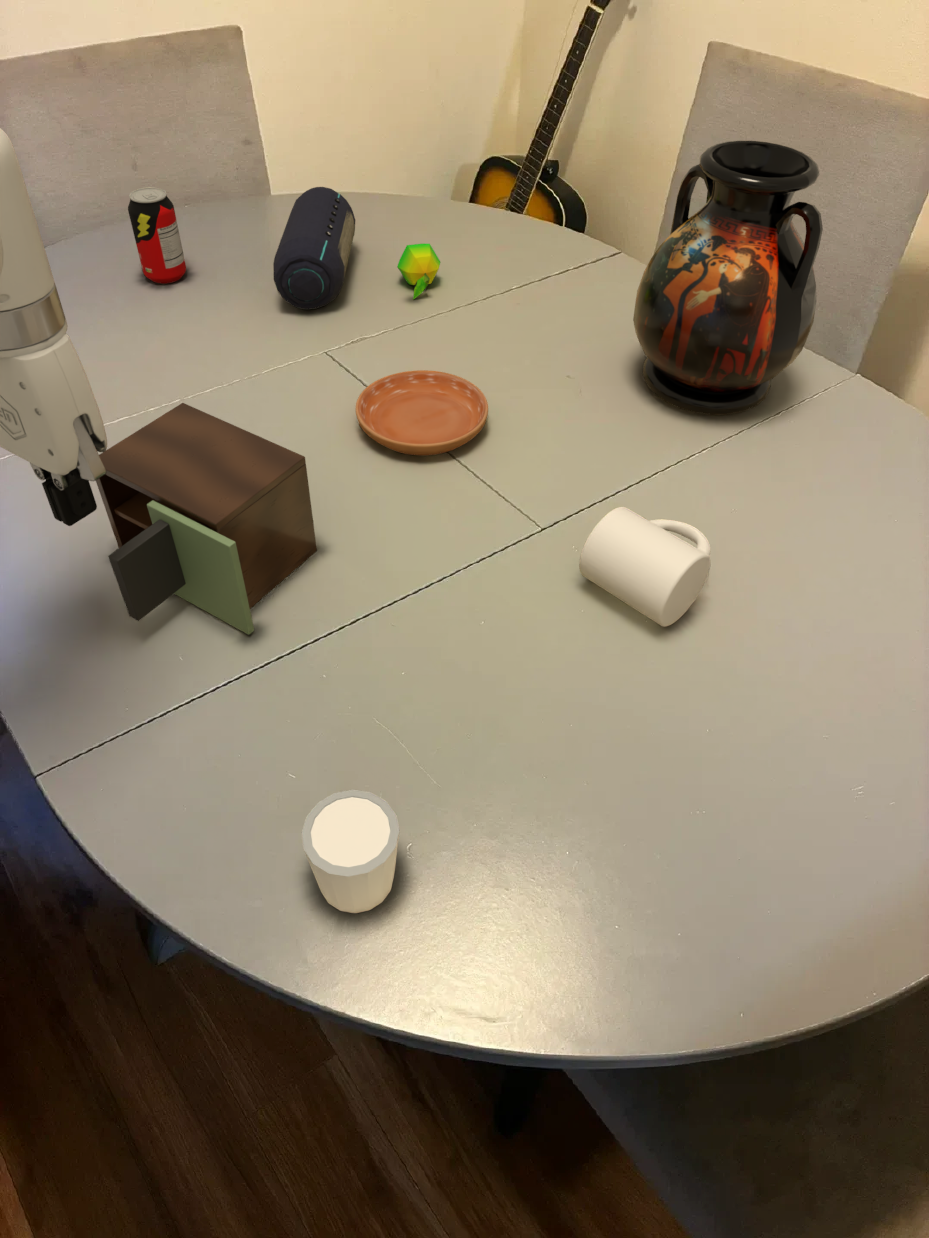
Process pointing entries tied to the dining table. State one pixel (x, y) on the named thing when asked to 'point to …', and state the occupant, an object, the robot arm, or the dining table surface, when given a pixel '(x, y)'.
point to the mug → (647, 563)
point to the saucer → (422, 412)
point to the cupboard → (215, 490)
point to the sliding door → (182, 569)
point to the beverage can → (156, 235)
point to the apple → (419, 266)
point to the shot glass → (352, 849)
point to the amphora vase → (731, 281)
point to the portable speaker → (314, 249)
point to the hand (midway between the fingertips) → (76, 514)
